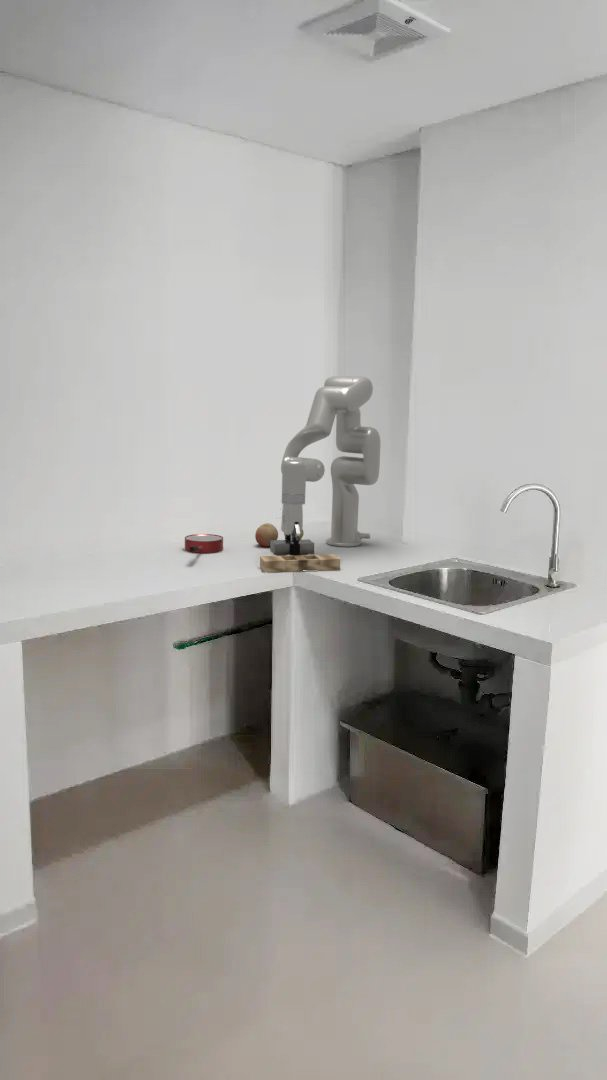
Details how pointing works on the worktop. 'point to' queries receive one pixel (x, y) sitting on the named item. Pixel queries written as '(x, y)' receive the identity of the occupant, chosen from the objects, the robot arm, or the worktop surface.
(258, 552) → the worktop surface
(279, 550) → the brushed steel slab
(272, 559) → the light brown long block
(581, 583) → the worktop surface
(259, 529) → the fruit
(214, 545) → the frying pan
